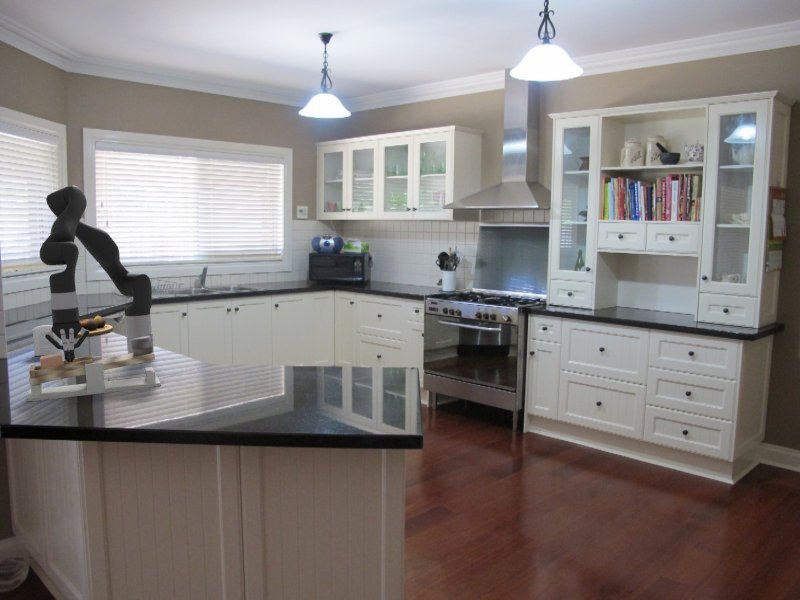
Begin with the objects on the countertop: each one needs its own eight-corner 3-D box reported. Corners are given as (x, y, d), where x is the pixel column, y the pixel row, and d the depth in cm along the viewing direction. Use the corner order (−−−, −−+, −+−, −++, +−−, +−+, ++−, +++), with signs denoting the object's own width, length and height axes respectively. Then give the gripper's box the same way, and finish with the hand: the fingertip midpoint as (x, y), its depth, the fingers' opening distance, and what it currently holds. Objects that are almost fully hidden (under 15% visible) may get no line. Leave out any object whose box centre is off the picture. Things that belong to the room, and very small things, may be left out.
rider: (65, 367, 211) (61, 352, 211) (64, 370, 207) (61, 355, 206) (43, 372, 209) (40, 356, 208) (43, 375, 204) (39, 359, 204)
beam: (152, 355, 225) (148, 334, 223) (155, 359, 217) (151, 338, 215) (32, 379, 210) (27, 357, 209) (30, 385, 202) (25, 363, 201)
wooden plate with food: (48, 331, 338) (46, 314, 337) (116, 326, 347) (115, 310, 346) (34, 341, 307) (32, 324, 306) (109, 336, 317) (108, 319, 316)
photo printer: (63, 353, 275) (61, 323, 274) (60, 355, 271) (57, 325, 270) (37, 354, 274) (34, 324, 273) (33, 356, 270) (30, 326, 268)
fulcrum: (156, 378, 227) (154, 350, 226) (160, 385, 217) (158, 357, 215) (29, 393, 211) (26, 363, 210) (26, 402, 200) (23, 371, 199)
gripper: (88, 303, 214) (93, 357, 216) (41, 307, 208) (46, 362, 210) (88, 306, 207) (93, 361, 209) (40, 310, 201) (45, 366, 203)
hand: (70, 361), depth 210 cm, fingers closed
